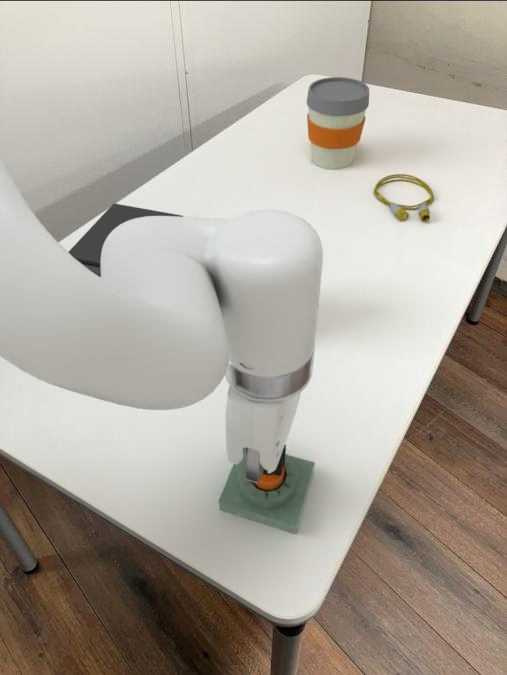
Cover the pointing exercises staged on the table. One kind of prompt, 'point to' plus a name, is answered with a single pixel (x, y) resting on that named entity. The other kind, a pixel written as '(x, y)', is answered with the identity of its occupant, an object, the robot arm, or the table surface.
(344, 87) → the reusable coffee cup
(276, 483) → the button
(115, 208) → the black hollow box
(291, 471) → the control box
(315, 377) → the table surface
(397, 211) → the extension cord
